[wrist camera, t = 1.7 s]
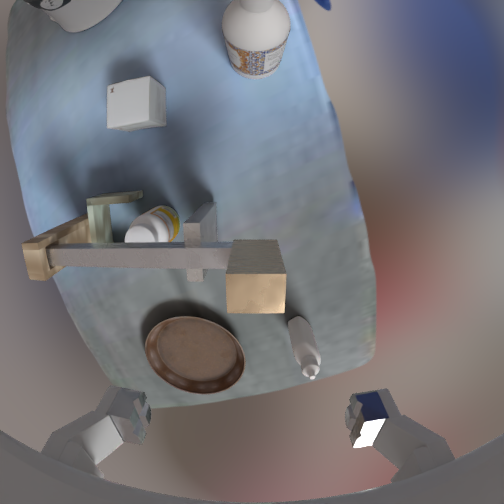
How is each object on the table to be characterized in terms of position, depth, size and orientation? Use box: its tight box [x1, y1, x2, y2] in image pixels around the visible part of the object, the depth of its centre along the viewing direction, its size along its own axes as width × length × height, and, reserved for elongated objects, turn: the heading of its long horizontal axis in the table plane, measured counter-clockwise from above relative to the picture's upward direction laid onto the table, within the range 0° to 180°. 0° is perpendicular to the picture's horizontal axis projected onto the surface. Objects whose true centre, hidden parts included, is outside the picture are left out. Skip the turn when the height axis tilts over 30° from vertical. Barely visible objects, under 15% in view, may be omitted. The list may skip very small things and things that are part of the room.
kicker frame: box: [22, 190, 143, 281], centre depth 32 cm, size 10×10×17 cm
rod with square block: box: [45, 202, 286, 313], centre depth 29 cm, size 6×26×21 cm, turn 90°
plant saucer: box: [145, 316, 246, 394], centre depth 46 cm, size 18×18×3 cm
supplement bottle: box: [125, 206, 180, 243], centre depth 35 cm, size 5×5×10 cm
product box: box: [107, 76, 167, 132], centre depth 31 cm, size 6×6×7 cm
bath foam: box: [222, 0, 290, 79], centre depth 23 cm, size 7×7×20 cm
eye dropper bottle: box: [288, 316, 321, 379], centre depth 40 cm, size 4×6×12 cm
